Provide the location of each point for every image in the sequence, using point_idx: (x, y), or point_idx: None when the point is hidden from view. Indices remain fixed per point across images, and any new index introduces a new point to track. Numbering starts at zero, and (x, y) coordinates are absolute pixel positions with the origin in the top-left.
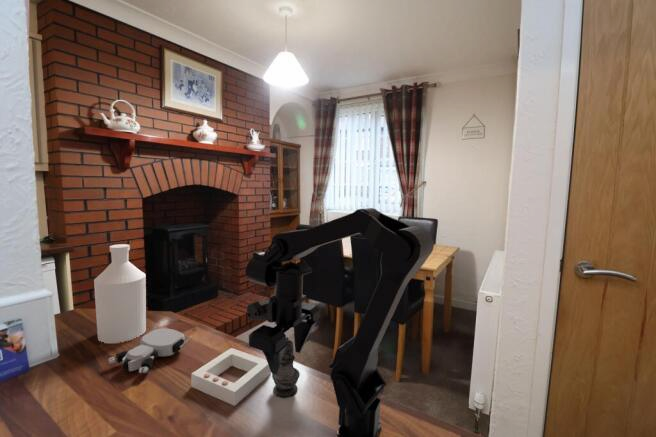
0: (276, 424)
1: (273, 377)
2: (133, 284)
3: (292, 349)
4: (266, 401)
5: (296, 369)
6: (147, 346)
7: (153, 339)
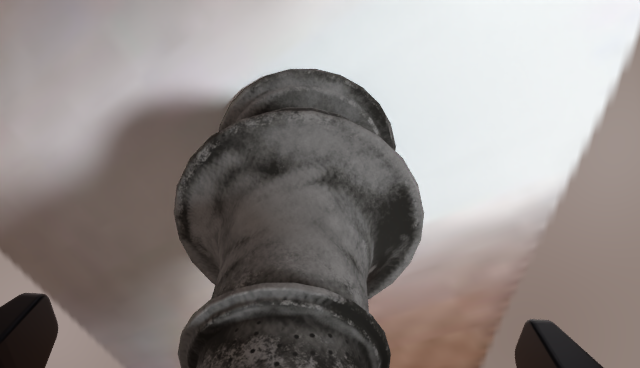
0: (41, 240)
1: (194, 165)
2: None
3: None
4: (135, 102)
5: (399, 268)
6: None
7: None
